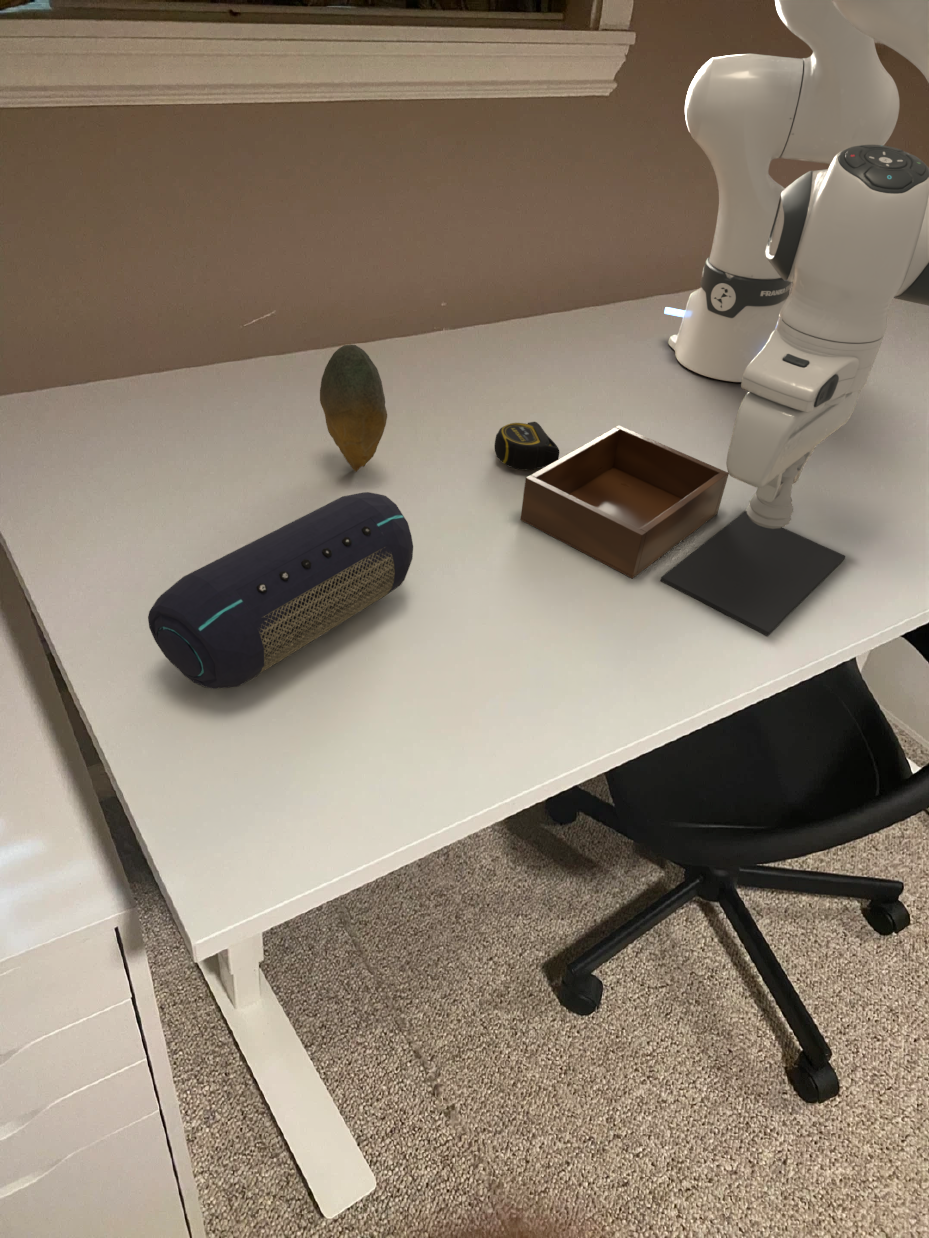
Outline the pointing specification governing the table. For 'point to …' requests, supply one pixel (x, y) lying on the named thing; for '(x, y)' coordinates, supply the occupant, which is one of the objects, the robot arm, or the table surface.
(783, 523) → the rook chess piece
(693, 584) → the mat
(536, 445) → the tape measure
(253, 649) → the portable speaker
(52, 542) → the table surface
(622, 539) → the open wooden box
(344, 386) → the green and yellow papaya
